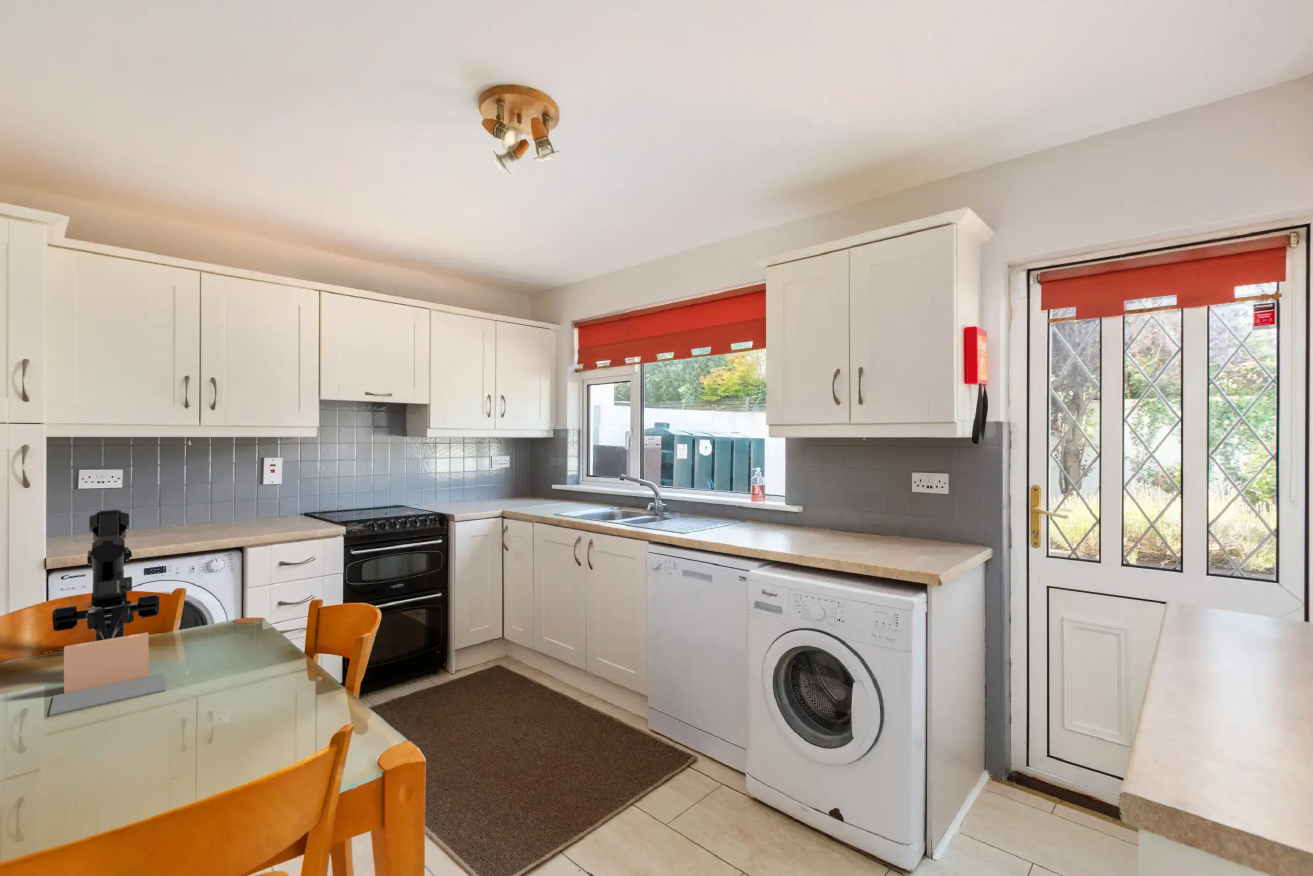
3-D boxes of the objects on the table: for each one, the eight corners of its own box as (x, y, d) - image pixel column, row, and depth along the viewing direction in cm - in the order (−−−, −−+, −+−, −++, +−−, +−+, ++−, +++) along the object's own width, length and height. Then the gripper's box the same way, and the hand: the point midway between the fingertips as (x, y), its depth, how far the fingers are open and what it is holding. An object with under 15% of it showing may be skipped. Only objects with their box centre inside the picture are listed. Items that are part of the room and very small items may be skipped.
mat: (54, 697, 129) (54, 695, 129) (162, 675, 141) (162, 673, 141) (49, 716, 120) (49, 714, 120) (165, 690, 132) (165, 689, 132)
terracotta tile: (64, 692, 132) (64, 646, 132) (148, 675, 142) (148, 632, 142) (64, 695, 131) (63, 649, 131) (148, 678, 140) (148, 634, 140)
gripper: (52, 573, 137) (48, 632, 129) (158, 561, 150) (161, 615, 142) (55, 601, 143) (52, 660, 135) (157, 588, 156) (160, 641, 147)
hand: (108, 643), depth 140 cm, fingers closed
